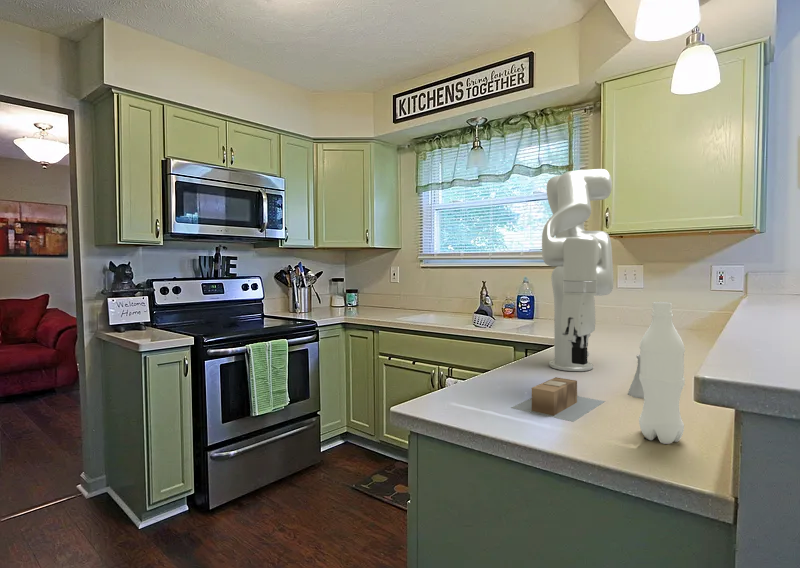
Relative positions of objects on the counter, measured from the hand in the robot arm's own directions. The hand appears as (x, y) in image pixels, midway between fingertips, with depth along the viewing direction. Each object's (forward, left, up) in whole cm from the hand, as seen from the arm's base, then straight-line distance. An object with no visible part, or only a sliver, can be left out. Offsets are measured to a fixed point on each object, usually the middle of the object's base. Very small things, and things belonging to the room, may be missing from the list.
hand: (579, 363), depth 113 cm
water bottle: (+18, +22, -8) cm, 30 cm away
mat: (+12, 0, -8) cm, 14 cm away
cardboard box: (+8, 0, -5) cm, 9 cm away
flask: (-8, +12, -8) cm, 17 cm away
